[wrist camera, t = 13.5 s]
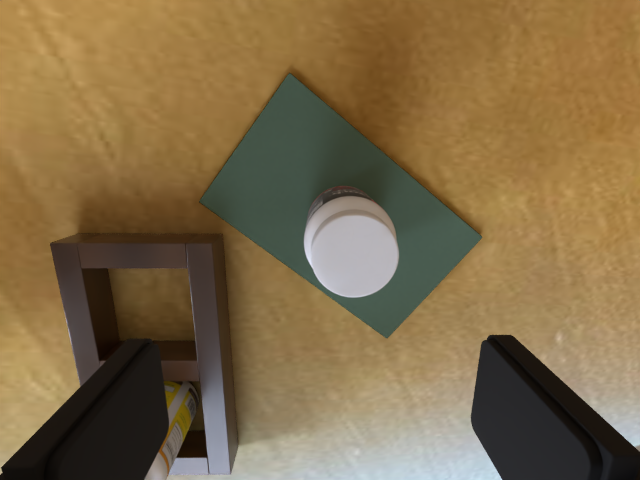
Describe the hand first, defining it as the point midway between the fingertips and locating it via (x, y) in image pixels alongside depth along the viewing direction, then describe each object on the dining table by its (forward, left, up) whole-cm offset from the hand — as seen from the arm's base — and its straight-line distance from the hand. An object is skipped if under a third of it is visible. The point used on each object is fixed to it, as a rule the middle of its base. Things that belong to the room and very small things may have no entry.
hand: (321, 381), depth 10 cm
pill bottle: (+1, +2, -19) cm, 19 cm away
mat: (+1, +2, -19) cm, 19 cm away
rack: (-4, -17, -19) cm, 26 cm away
